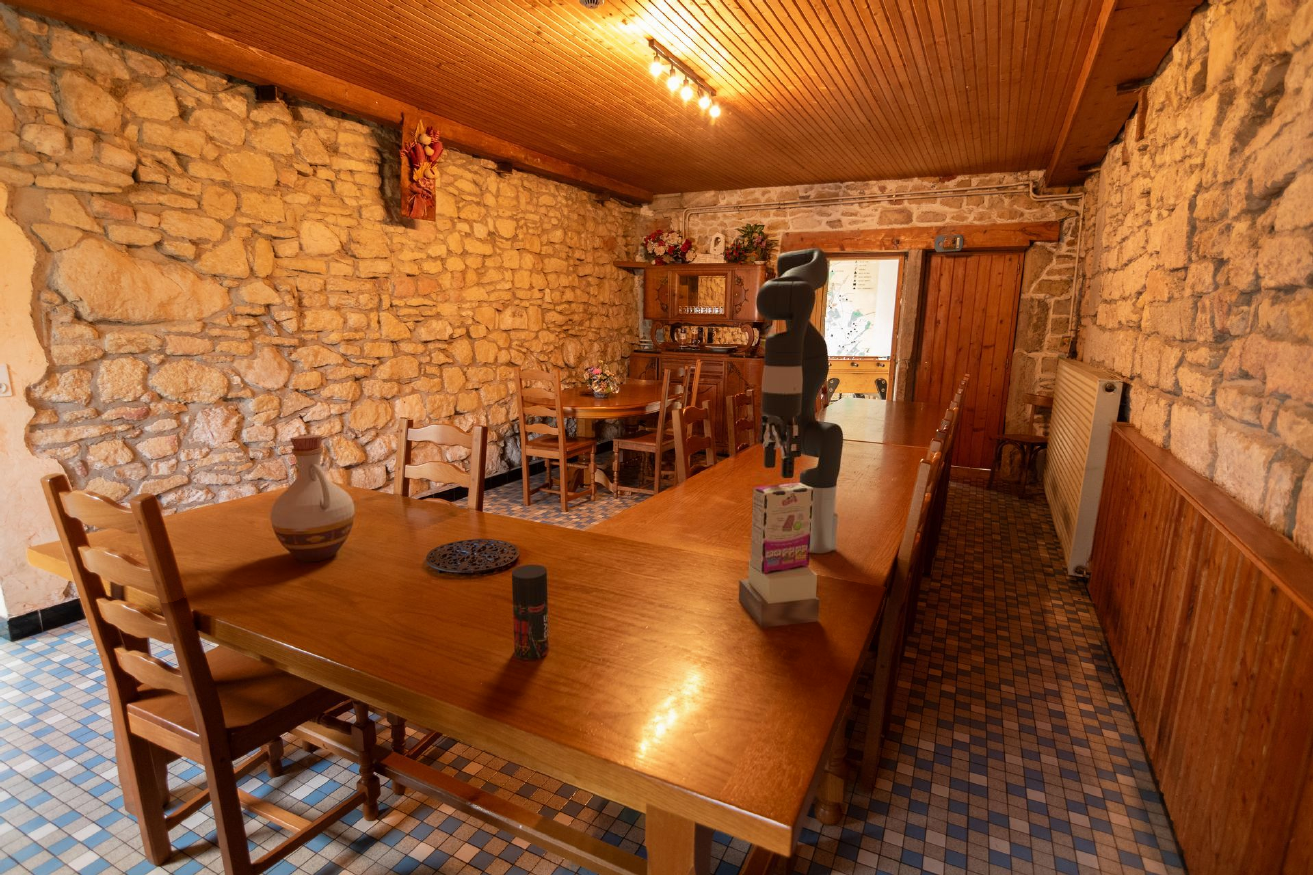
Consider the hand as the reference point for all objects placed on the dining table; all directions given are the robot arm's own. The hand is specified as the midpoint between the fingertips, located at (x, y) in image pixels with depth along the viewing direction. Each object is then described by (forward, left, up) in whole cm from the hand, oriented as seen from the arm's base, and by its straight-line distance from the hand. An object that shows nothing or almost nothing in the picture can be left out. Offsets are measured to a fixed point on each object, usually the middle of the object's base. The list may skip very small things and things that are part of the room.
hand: (778, 472), depth 120 cm
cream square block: (-1, +1, -24) cm, 24 cm away
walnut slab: (-1, 0, -29) cm, 29 cm away
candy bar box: (-1, +1, -19) cm, 19 cm away
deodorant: (+48, +7, -29) cm, 56 cm away
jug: (+98, -48, -29) cm, 113 cm away
